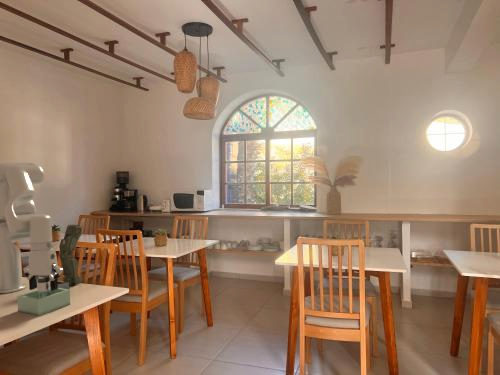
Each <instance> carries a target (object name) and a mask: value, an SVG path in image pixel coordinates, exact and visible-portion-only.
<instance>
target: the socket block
mask: <svg viewBox="0 0 500 375" xmlns="http://www.w3.org/2000/svg"><path fill="white" fill-rule="evenodd" d="M58 288H62V289H68V290H70V288H71V287H69V282H64V281H63V280H58ZM70 291H71V290H70Z"/></svg>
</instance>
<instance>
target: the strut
mask: <svg viewBox="0 0 500 375" xmlns="http://www.w3.org/2000/svg"><path fill="white" fill-rule="evenodd" d="M36 278H37V290H38V299H40V298H43V297H46V296H49V295H51V290H50V281H52V280H51V279H50V277H49V276H36Z"/></svg>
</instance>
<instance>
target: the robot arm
mask: <svg viewBox="0 0 500 375" xmlns="http://www.w3.org/2000/svg"><path fill="white" fill-rule="evenodd" d="M45 177H46V176H45V171H44V169H43V168H42V166H40V165H39V164H35V163H32V162H14V161H13V162H10V161H9V162H8V161H7V162H5V161H4V162H0V220H5V222H2V223H1V222H0V294H9V293H13V292H17V291H18V292H19V291H21V290H23V289H25V288H26V287H27V283H24V282H23V274H22V273H23V272H24V275H25V277H26V278H27V280H28V286H29V290H30V291H34V290H35V289H38V282H37V276H49V277H50V279H51V281H50V290H51V291H54V290H56V289H58V281H59V279H60V277H61V276H62V272H64V271H63V267H62V266H59V264H58V256H57V253H56V249H55V248H54V247H55V244H54V243H53V229H52V226H53V225H52V224H53V223H52V217H51V216H50V215H49V214H45V213H42V212H41V213H37V209H36V208H37V207H36V204H35V202H34V200H33V199H34V198H35V197H36V195H37V191H36V189H35V187H34V184H35V185H36V184H42V183H44V180H45ZM22 241H23V242H24V241H29V243H30V244H29V246H30V250H29V253H28V265H26V266H25V267H23V268H22V256H21V254H22V253H21V250H20V248H19V246H17V245H16V244H15V243H17V242H22ZM22 270H23V271H22Z"/></svg>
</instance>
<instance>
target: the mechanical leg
mask: <svg viewBox="0 0 500 375" xmlns="http://www.w3.org/2000/svg"><path fill="white" fill-rule="evenodd" d="M82 230H83V226H81V225H78V224H68V225H67V227H66V230H65V233H64V236H63V238H61V240H60V242H59V246H58V247H59V248H58V249H59V252H58V256H59V259H60V263H61V268H62V269H63V271H62V272H63V273H64V278H63V280H62V281H64V282H69V287H70V288H72V287H75V286H77V285H79V284H82V283H83V282H84V278H83V277H80V276H79V274H78V259H77V258H74V251H75V250H76V247H77V244H78V241H79V240H80V237H81V236H82V232H83V231H82Z"/></svg>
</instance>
